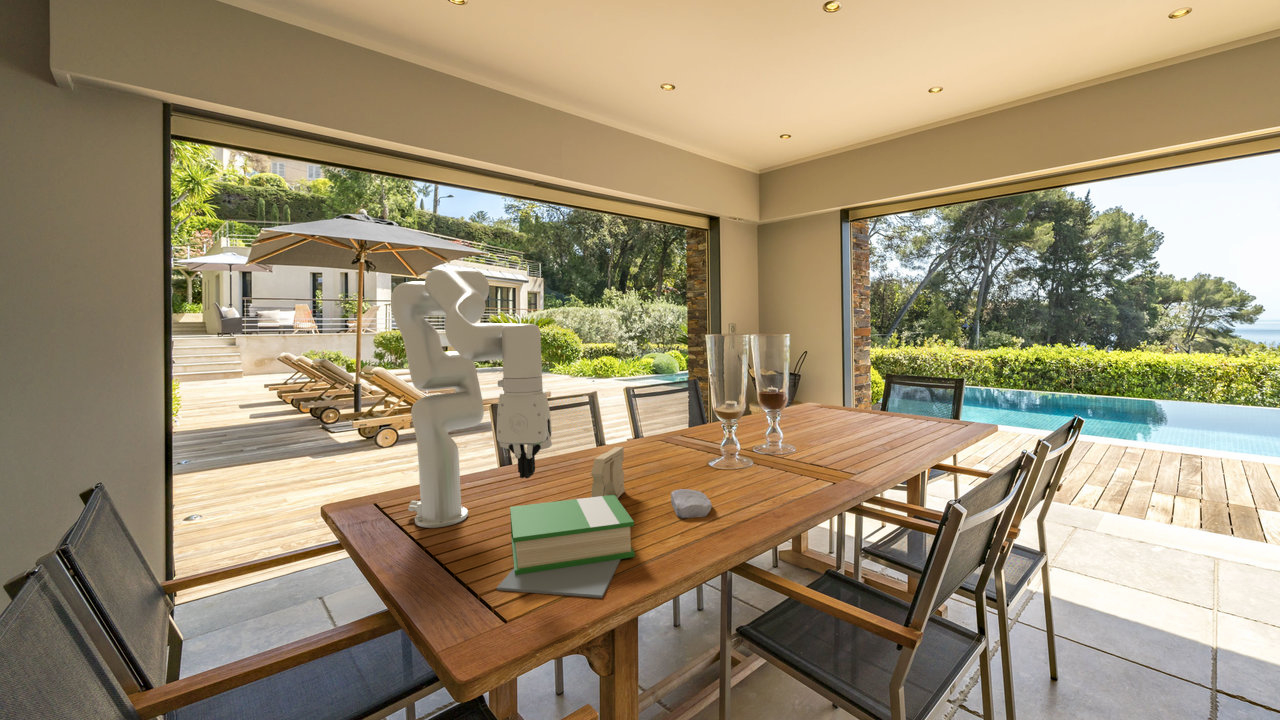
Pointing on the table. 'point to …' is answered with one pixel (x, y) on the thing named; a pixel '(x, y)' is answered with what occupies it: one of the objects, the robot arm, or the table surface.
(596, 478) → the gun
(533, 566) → the hardback book
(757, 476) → the table surface
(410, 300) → the robot arm
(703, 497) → the stone block
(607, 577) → the mat
